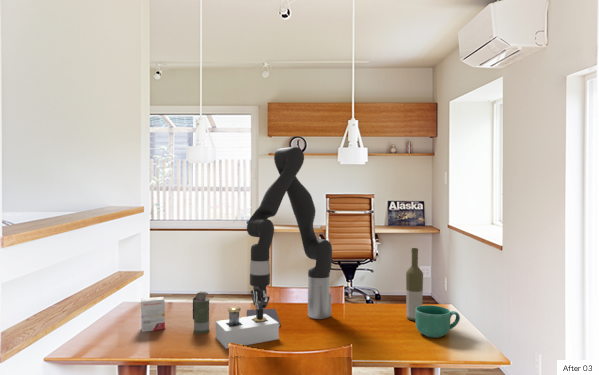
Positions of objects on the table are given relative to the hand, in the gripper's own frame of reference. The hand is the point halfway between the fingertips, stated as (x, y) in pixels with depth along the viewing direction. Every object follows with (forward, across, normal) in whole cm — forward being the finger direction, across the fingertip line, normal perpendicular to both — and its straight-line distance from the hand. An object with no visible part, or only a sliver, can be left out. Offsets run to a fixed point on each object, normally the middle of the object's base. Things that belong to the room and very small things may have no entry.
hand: (259, 318), depth 159 cm
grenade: (+7, +15, +18) cm, 24 cm away
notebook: (+7, +18, -9) cm, 22 cm away
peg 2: (+6, 0, 0) cm, 6 cm away
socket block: (+7, 0, +5) cm, 8 cm away
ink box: (+7, +26, +34) cm, 43 cm away
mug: (+7, -29, -61) cm, 68 cm away
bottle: (+7, -11, -66) cm, 67 cm away
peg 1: (+1, 0, +10) cm, 10 cm away
